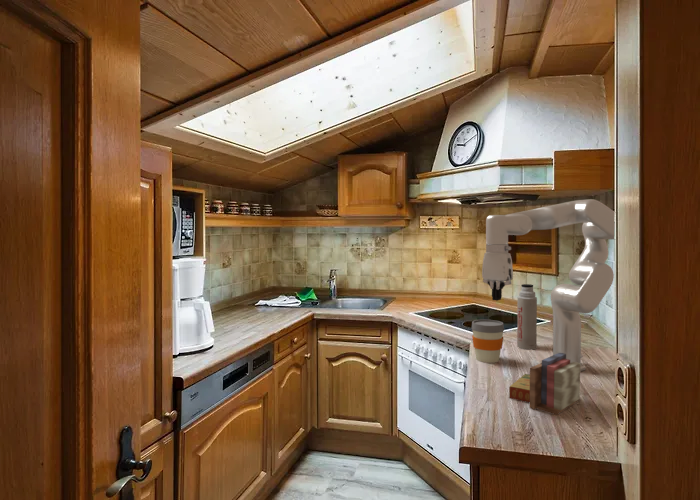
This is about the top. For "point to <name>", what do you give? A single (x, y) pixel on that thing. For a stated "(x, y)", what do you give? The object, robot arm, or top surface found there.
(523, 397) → the carton
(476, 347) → the reusable coffee cup
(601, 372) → the top surface
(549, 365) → the bookend
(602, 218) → the robot arm
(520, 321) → the thermos bottle
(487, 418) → the top surface
